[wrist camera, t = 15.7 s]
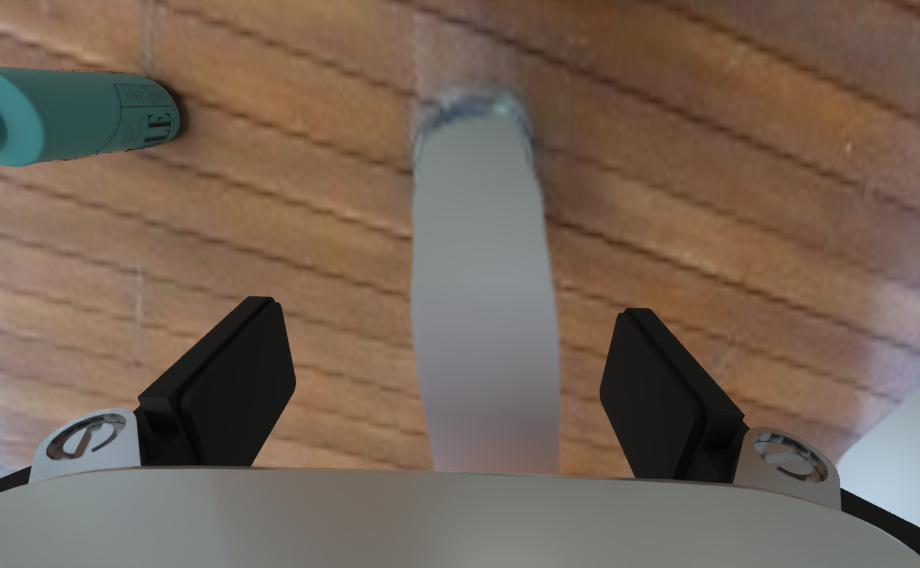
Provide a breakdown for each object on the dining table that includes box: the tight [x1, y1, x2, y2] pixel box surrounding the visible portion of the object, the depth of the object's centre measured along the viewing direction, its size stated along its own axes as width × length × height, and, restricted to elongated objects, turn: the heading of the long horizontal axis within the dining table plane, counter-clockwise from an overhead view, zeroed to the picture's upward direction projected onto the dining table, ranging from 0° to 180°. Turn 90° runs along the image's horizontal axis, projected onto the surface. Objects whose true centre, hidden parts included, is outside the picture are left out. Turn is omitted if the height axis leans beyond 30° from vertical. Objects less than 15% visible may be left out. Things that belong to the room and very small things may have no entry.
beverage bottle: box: [0, 67, 180, 167], centre depth 30 cm, size 6×7×20 cm
